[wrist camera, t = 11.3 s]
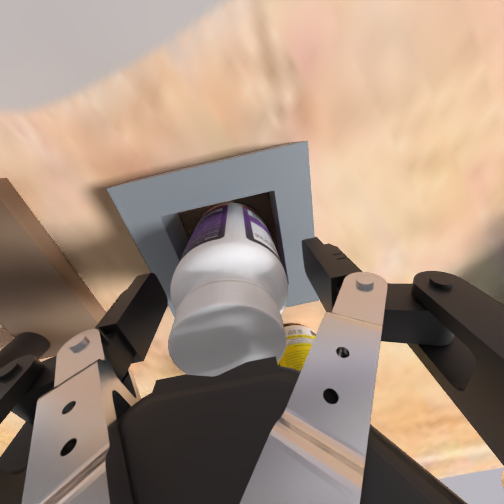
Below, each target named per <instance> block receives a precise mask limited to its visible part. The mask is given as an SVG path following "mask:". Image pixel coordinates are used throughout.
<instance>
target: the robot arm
mask: <svg viewBox="0 0 504 504" xmlns="http://www.w3.org/2000/svg"><path fill="white" fill-rule="evenodd" d="M302 253H303V262H304V269H305V273H306V275H307V277H308V279H309V281H310V283H311V285H312V286H313V288H314V290H315V292H316V294H317V296H318V297H319V299H320V301H321V303H322V305H323V306H324V308H325V310H326V313H325V315H324V317H323V320H322V322H321V324H320V327H319V329H318V332H317V334H316V337H315V339H314V341H313V344H312V346H311V349H310V351H309V354H308V356H307V358H306V361H305V363H304V366H303V368H302V370H301V371H299V370H296V369H293V368H289V367H283V366H278V363H277V359H276V356H274V357H269V358H264V359H259V360H255V361H250V362H245V363H243V364H241V365H239V366H237V367H235V368H233V369H230V370H228V371H226V372H224V373H222V374H220V375H217V376H213V377H211V376H198V375H181V376H176V377H171V378H166V379H161V380H156V383H155V386H154V389H153V392H152V393H151V394H149V395H147V396H145V397H144V398H142V399H141V397H140V394H139V391H138V388H137V385H136V382H135V379H134V376H133V373H132V371H131V370H130V369H129V367H130V365H131V363H136V362H141V361H144V359H145V356H146V354H147V352H148V349H149V347H150V345H151V343H152V340H153V338H154V336H155V333H156V331H157V329H158V326H159V324H160V322H161V319H162V317H163V315H164V312H165V310H166V308H167V305H168V299H167V295H166V293H165V291H164V289H163V287H162V286H161V284H160V282H159V280H158V278H157V276H156V275H155V274H154V273H149V274H144V275H140V276H137V277H136V279H135V280H134V281H133V282H132V284H131V285H130V286H129V288H128V289H127V290H125V291H124V292H123V293H122V294H121V295H120V296H119V297H118V299H117V300H116V303H114V304H113V305H112V306H111V309H109V310H108V311H107V313H106V314H105V315H104V317H103V318H102V319H101V320H100V322H99V323H98V324H97V326H96V327H95V328H94V329H89V330H86V331H83V332H81V333H79V334H78V335H76V336H74V337H73V338H71V339H70V340H69V341H68V342H66V343H65V344H64V345H63V346H62V347H61V349H60V350H59V352H58V353H57V356H54V357H52V358H50V359H47V360H45V361H43V362H40V361H39V360H38V359H37V358H36V357H35V356H34V355H25V356H22V357H19V358H17V359H15V360H13V361H12V362H10V363H8V364H7V365H5V366H4V367H2V368H1V369H0V424H1V422H2V421H3V420H4V419H5V418H6V416H7V415H8V414H9V413H10V411H12V412H13V413H15V414H16V415H18V416H19V417H21V418H22V419H23V420H25V421H26V422H25V424H24V425H23V427H22V428H21V429H20V431H19V432H18V434H17V435H16V436H15V438H14V439H13V440H12V442H11V443H10V445H9V446H8V447H7V449H6V450H5V452H4V453H3V454H2V456H1V457H0V504H467V503H466V502H465V501H463V500H462V499H461V498H460V497H459V496H457V495H456V494H455V493H454V492H453V491H451V490H450V489H449V488H448V487H446V486H445V485H444V484H443V483H442V482H440V481H439V480H438V479H437V478H435V477H434V476H433V475H432V474H431V473H429V472H428V471H427V470H426V469H424V468H423V467H422V466H421V465H420V464H418V463H417V462H416V461H415V460H413V459H412V458H411V457H410V456H409V455H407V454H406V453H405V452H404V451H402V450H401V449H400V448H399V447H398V446H396V445H395V444H394V443H393V442H391V441H390V440H389V439H388V438H387V437H385V436H384V435H383V434H382V433H380V432H379V431H378V430H377V429H376V428H374V427H373V426H372V425H371V424H370V421H371V413H372V405H373V397H374V389H375V381H376V373H377V366H378V358H379V350H380V342H381V341H386V342H397V343H407V344H408V345H409V347H410V348H411V349H412V350H413V352H414V353H415V354H416V355H417V357H418V358H419V359H420V360H421V362H422V363H423V364H424V365H425V367H426V368H427V369H428V371H429V372H430V373H431V374H432V376H433V377H434V378H435V379H436V381H437V382H438V383H439V384H440V386H441V387H442V388H443V390H444V391H445V392H446V393H447V395H448V396H449V397H450V398H451V400H452V401H453V402H454V403H455V405H456V406H457V407H458V408H459V410H460V411H461V412H462V414H463V415H464V416H465V417H466V419H467V420H468V421H469V422H470V424H471V425H472V426H473V427H474V429H475V430H476V431H477V433H478V434H479V435H480V436H481V438H482V439H483V440H484V441H485V443H486V444H487V445H488V446H489V448H490V449H491V450H492V451H493V453H494V454H495V455H496V457H497V458H498V459H499V460H500V462H501V463H502V464H503V465H504V305H503V304H501V303H499V302H498V301H496V300H495V299H493V298H492V297H490V296H488V295H487V294H485V293H484V292H482V291H480V290H479V289H477V288H476V287H474V286H473V285H471V284H469V283H468V282H466V281H465V280H463V279H461V278H460V277H457V276H455V275H452V274H449V273H445V272H439V271H425V272H421V273H418V274H417V275H415V277H414V280H413V284H389V283H387V282H386V281H385V280H384V279H383V278H382V277H380V276H378V275H376V274H373V273H368V272H362V271H361V270H360V269H359V268H358V267H357V266H356V265H355V264H354V263H353V262H352V261H351V260H350V259H349V258H347V256H346V255H345V254H344V253H343V252H342V251H341V250H340V249H339V248H338V247H336V246H333V245H331V244H325V245H324V244H323V243H322V242H321V241H320V240H319V239H318V238H317V237H313V238H309V239H304V240H302ZM502 486H503V489H504V470H503V473H502Z"/></svg>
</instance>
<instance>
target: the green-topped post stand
mask: <svg viewBox="0 0 504 504" xmlns="http://www.w3.org/2000/svg"><path fill="white" fill-rule="evenodd" d="M105 314H106V312H105V311H104V309H103V308H102V307H101V305H100V304H99V302H98V301H97V300H96V298H95V297H94V296H93V294H92V293H91V292H90V290H89V289H88V288H87V286H86V285H85V283H84V282H83V281H82V279H81V278H80V277H79V275H78V274H77V273H76V271H75V270H74V269H73V267H72V266H71V264H70V263H69V262H68V260H67V259H66V258H65V256H64V255H63V254H62V252H61V251H60V250H59V248H58V247H57V245H56V244H55V243H54V241H53V240H52V239H51V237H50V236H49V235H48V233H47V232H46V231H45V229H44V228H43V226H42V225H41V224H40V222H39V221H38V220H37V218H36V217H35V216H34V214H33V213H32V212H31V210H30V209H29V207H28V206H27V205H26V203H25V202H24V201H23V199H22V198H21V197H20V195H19V194H18V193H17V191H16V190H15V188H14V187H13V186H12V184H11V183H10V182H9V180H8V179H7V178H2V179H0V324H1V325H2V326H3V327H4V328H5V329H6V330H7V331H8V332H9V333H10V334H12V335H13V336H14V337H15V339H13V340H12V341H11V342H10V343H9V344H8V345H7V346H5V347H4V348H3V349H2V350H1V351H0V369H1V368H2V367H4V366H5V365H7V364H8V363H10V362H12V361H13V360H15V359H17V358H19V357H22V356H25V355H34V356H35V357H36V358H37V359H38V360H39V359H43V358H48V357H53V356H57V353H58V352H59V350H60V349H61V347H62V346H63V345H64V344H65V343H66V342H68V341H69V340H70V339H71V338H73V337H74V336H76V335H78V334H79V333H81V332H83V331H86V330H89V329H94V328H95V327H96V326H97V324H98V323H99V322H100V320H101V319H102V318H103V317H104V315H105Z"/></svg>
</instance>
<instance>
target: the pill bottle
mask: <svg viewBox="0 0 504 504" xmlns="http://www.w3.org/2000/svg"><path fill="white" fill-rule="evenodd" d="M170 294H171V301H172V304H173V307H174V309H175V311H176V315H175V319H174V323H173V326H172V329H171V332H170V336H169V340H168V350H169V354H170V356H171V358H172V360H173V362H174V363H175V364H176V365H177V367H179V368H180V369H181V370H182V371H183V372H185V373H186V374H188V375H198V376H211V377H213V376H217V375H220V374H222V373H224V372H226V371H228V370H230V369H233V368H235V367H237V366H239V365H241V364H243V363H245V362H250V361H255V360H259V359H264V358H269V357H274V356H276V359H277V363H278V362H279V361H280V359H281V358H282V356H283V354H284V352H285V349H286V333H285V329H284V325H283V320H282V317H281V313H282V312H283V310H284V308H285V305H286V303H287V299H288V281H287V276H286V274H285V270H284V267H283V265H282V263H281V260H280V258H279V255H278V253H277V250H276V248H275V245H274V243H273V240H272V238H271V235H270V233H269V231H268V228H267V226H266V224H265V222H264V221H263V219H262V217H261V216H260V215H259V214H258V213H257V212H256V211H255V210H253V209H252V208H250V207H248V206H246V205H243V204H239V203H223V204H220V205H217V206H214V207H213V208H211V209H209V210H208V211H207V212H206V213H205V214H204V215H203V216H202V217H201V218H200V220H199V222H198V223H197V225H196V227H195V229H194V232H193V234H192V236H191V238H190V240H189V242H188V244H187V246H186V248H185V250H184V252H183V254H182V256H181V258H180V261H179V263H178V264H177V267H176V270H175V272H174V274H173V277H172V281H171V287H170Z"/></svg>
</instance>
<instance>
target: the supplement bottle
mask: <svg viewBox="0 0 504 504" xmlns="http://www.w3.org/2000/svg"><path fill="white" fill-rule="evenodd" d="M284 329H285V333H286V349H285V352H284V354H283V356H282V358H281V359H280V361H279V362H278V366H283V367H289V368H293V369H296V370H299V371H301V370H302V368H303V366H304V363H305V361H306V358H307V356H308V354H309V351H310V349H311V346H312V344H313V341H314V339H315V337H316V333H315V332H314V331H313V330H312V329H310V328H309V327H306V326H302V325H291V326H286V327H284Z"/></svg>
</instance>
